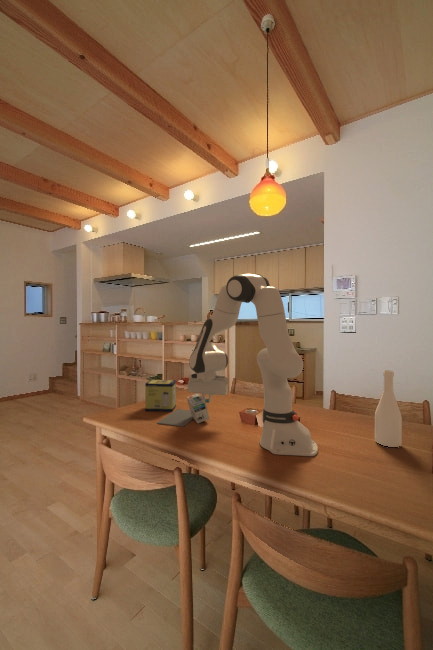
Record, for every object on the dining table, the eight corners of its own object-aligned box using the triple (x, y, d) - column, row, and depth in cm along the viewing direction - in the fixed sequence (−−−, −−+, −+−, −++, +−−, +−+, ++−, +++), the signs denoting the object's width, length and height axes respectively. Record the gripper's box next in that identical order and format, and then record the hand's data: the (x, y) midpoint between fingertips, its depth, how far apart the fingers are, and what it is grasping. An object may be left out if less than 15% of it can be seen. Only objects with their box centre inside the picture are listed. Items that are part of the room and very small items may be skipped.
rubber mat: (201, 412, 162) (201, 411, 162) (183, 426, 139) (183, 425, 139) (177, 409, 166) (177, 408, 166) (157, 423, 143) (157, 422, 143)
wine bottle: (385, 438, 127) (386, 368, 127) (407, 446, 118) (407, 372, 118) (369, 441, 124) (370, 369, 123) (389, 450, 115) (390, 373, 115)
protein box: (149, 406, 173) (149, 379, 173) (176, 406, 173) (176, 379, 173) (144, 411, 163) (144, 383, 163) (172, 411, 162) (172, 383, 162)
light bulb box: (210, 419, 145) (205, 398, 143) (197, 424, 143) (192, 403, 141) (202, 411, 155) (198, 392, 153) (191, 416, 153) (186, 396, 151)
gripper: (229, 375, 148) (229, 402, 148) (191, 372, 154) (191, 399, 154) (226, 377, 142) (225, 405, 142) (186, 374, 148) (186, 402, 148)
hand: (207, 402), depth 148 cm, fingers closed
